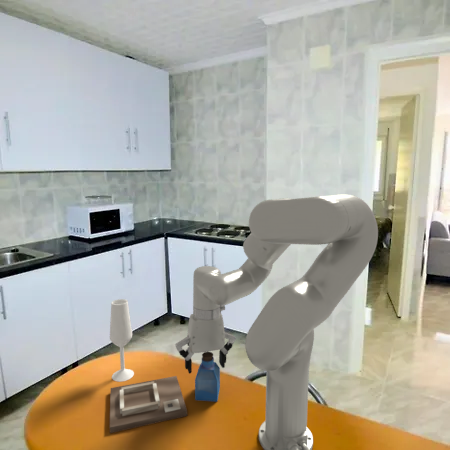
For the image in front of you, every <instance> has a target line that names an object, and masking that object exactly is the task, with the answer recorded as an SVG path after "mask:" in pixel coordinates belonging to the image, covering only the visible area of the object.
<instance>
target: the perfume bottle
mask: <svg viewBox="0 0 450 450" xmlns="http://www.w3.org/2000/svg"><path fill="white" fill-rule="evenodd" d="M201 356H202V357H201V363H200V364H199V366H198V368H197V371H196V376H195V378H194V393H195V397H194V400H195V401H203V402H218V400H219V394H220V388H221V368H220V366H219V365H218V363H217V362H216V361H215V358H214V353H213V351H208V352H202V353H201Z"/></svg>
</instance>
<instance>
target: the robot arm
mask: <svg viewBox="0 0 450 450" xmlns="http://www.w3.org/2000/svg"><path fill="white" fill-rule="evenodd" d="M248 227H249V230H250V234H249V235H248V236H247V237H246V238H245V240H244V241H243V245H242V248H243V252H244V254H245V256H246V257H247V259H246V260H245V262H243V264H242V265H240V267H238V268H237V269H234V270H232V271H227V272H225V273H222V272H221V270H220V268H218V267H216V266H211V265H205V266H203V265H202V266H198V267H197V268H195V270H194V272H193V283H192V285H193V290H192V291H193V293H192V296H193V297H192V298H193V299H192V300H193V301H192V314H190V316H189V320H188V323H187V324H188V325H187V335H186V337H184V338H182V339H180V340H179V341H177V342H176V343H175V344H174V345H175V346H174V347H175V349H176V350H177V352H178V353H179V355H180V356H181V357H182V358H184V369H185V370H187V372H188V374H192V372H193V371H192V369H193V368H192V364H193V363H192V361H193V360H192V357H193V356H194V355H195V354H202V353H204V352H213V351H218V350H219V353H218V355H219V357H218V358H219V359H218V364H219V365H220V367H221V368H222V369H224V368H225V367H226V365H225V364H226V363H227V355H229V354H228V353H229V352H230V350H231V349H232V348H233V346H234V343H235V341H237V340H236V339H237V338H236V336H235V335H233V334H231V333H228V332H226V331H225V324H224V319H223V315H222V312H223V311H225V310H226V306H227V305H229V304H232V303H234V302H235V301H238V300H240V299H243V298H245V297H247V296H250V295H251V294H253V293H254V292H255V291H256V290H257V289H258V288H259V287H260V286H261V285H262V283H264V282H265V281H266V280H267V278H268V277H269V276H270V274H271V271H272V269H273V266H274V263H275V262H276V261H277V260H278V259H279V258H280V256H281V255H282V254H283V253H284V252H285V251H286V250H287V249H288V248H289V247H290V246H291V245H312V246H313V245H314V246H315V245H317V246H319V245H321V246H322V245H326V246H325V247H324V248H323V249H322V251H321V252H320V253H319V254H318V256H316V258H315V259H314V261H313V263H312V264H311V266H310V267H309V268H308V269H307V271H306V272H305V274H304V275H302V277H301V278H299V279H298V280H296V281H294V282H292V283H289V284H287V285H286V286H283V287H281V288H280V289H278V290H277V291H276V292H275V293H273V294H272V296H271V297H270V298H269V299H268V300H267V302H266V303H265V305H264V307H263V308H262V309H261V311H260V312H259V314H258V315H257V316H256V319H255V320H254V321H253V323H252V324H251V326H250V328H249V329H248V331H247V334H246V337H245V343H244V347H245V352H246V356H247V358H248V360H249V361H250V363H251V364H252V365H253V366H254V367H255V368H257V369H259V370H261V371H264V372H266V377H265V378H266V380H265V381H266V382H265V383H266V385H265V387H266V388H265V420H264V421H263V422H262V423H261V425H260V427H259V429H258V441H259V443H260V445H261V448H262V449H263V450H313V446H314V436H313V433H312V432H311V430H310V429H309V428H308V427H307V425H308V406H309V405H308V402H309V401H308V400H309V379H310V364H311V358H312V352H313V351H312V350H313V346H314V340H315V329H316V328H317V327H319V326H320V325H321V324H322V323H324V322H326V320H327V319H329V317H330V316H331V314H332V313H333V311H334V310H335V309H336V307H337V305H338V304H340V302H341V301H342V300H343V298H344V297H345V296H346V294H347V293H348V292H349V290H350V289H351V288H352V286H353V285H354V283H355V282H356V281H357V280H358V278H359V277H360V276H361V274H362V273H363V272H364V271H365V270H366V268H367V266H368V264H369V263H370V261H371V259H372V258H373V256H374V253H375V250H376V248H377V244H378V237H379V229H378V222H377V220H376V217H375V214H374V212H373V210H372V209H371V206H369V204H368V203H366V202H365V200H363V199H362V198H360V197H359V196H355V195H352V194H346V193H345V194H341V193H339V194H332V195H331V194H330V195H319V196H311V197H309V196H308V197H300V198H290V197H289V198H288V197H285V198H273V199H266V200H263V201H261V202H259V203H257V204H256V205H255V206H254V207H253V208H252V210H251V211H250V214H249V218H248ZM226 339H227V340H228V341H227V342H226V341H225V340H226ZM186 345H187V346H188V347H187V348H186V349H183V347H184V346H186Z"/></svg>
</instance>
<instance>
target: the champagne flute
mask: <svg viewBox="0 0 450 450" xmlns="http://www.w3.org/2000/svg"><path fill="white" fill-rule="evenodd" d="M128 301H129V300H128V299H126V298H125V299H124V298H121V299H120V298H119V299H114V300H112V301H111V303H110V304H111V306H110V321H109V322H110V325H109V327H110V328H109V340H110V341H111V343H112V344H113V345H115V346H117V347H119V359H120V360H119V361H120V369H119V370H118V369H117V370H116V371H115V372H113V374H112V376H111V379H112V380H113V381H115V382H120V383H121V382H126V381H128V380H131V379H132V378H133V376H134V375H135V372H134V370H133V369H130V368H129V369H128V368H126V367H125V348H124V347H125V346H126V345H127V344H129V342H130V341H131V339H132V338H133V329H132V328H133V327H132V322H131V315H130V308H129V302H128Z"/></svg>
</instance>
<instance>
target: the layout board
mask: <svg viewBox="0 0 450 450" xmlns="http://www.w3.org/2000/svg"><path fill="white" fill-rule="evenodd" d="M179 383H180V382H179V380H178V377H177V375H175V376H170V377H169V376H168V377H163V378H158V379H151V380H148V381H147V380H146V381H141V382H136V383H131V384H125V385H120V386H115V387H110V396H109V397H110V399H109V401H110V402H109V403H110V404H109V407H110V408H109V434H112V433H116V432H121V431H126V430H130V429H133V428H134V429H135V428H139V427H143V426H144V427H145V426H148V425H152V424H156V423H161V422H166V421H170V420H174V419H179V418H184V417H188V409H187V406H186V403H185V399H184V396H183V393H182V390H181V387H180V384H179Z"/></svg>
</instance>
